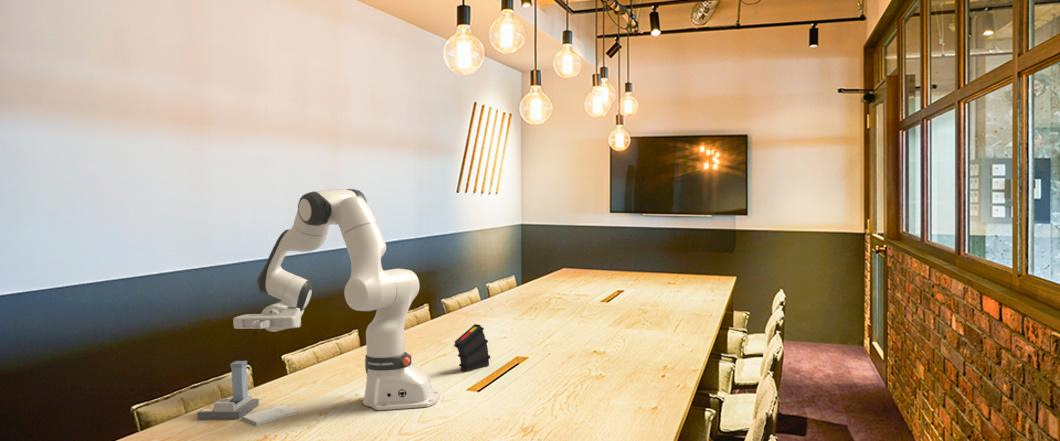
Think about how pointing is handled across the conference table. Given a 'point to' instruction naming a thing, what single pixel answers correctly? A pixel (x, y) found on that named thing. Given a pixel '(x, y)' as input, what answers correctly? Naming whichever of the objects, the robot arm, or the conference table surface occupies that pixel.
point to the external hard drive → (269, 415)
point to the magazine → (473, 349)
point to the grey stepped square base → (228, 409)
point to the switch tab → (239, 380)
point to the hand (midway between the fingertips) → (256, 326)
